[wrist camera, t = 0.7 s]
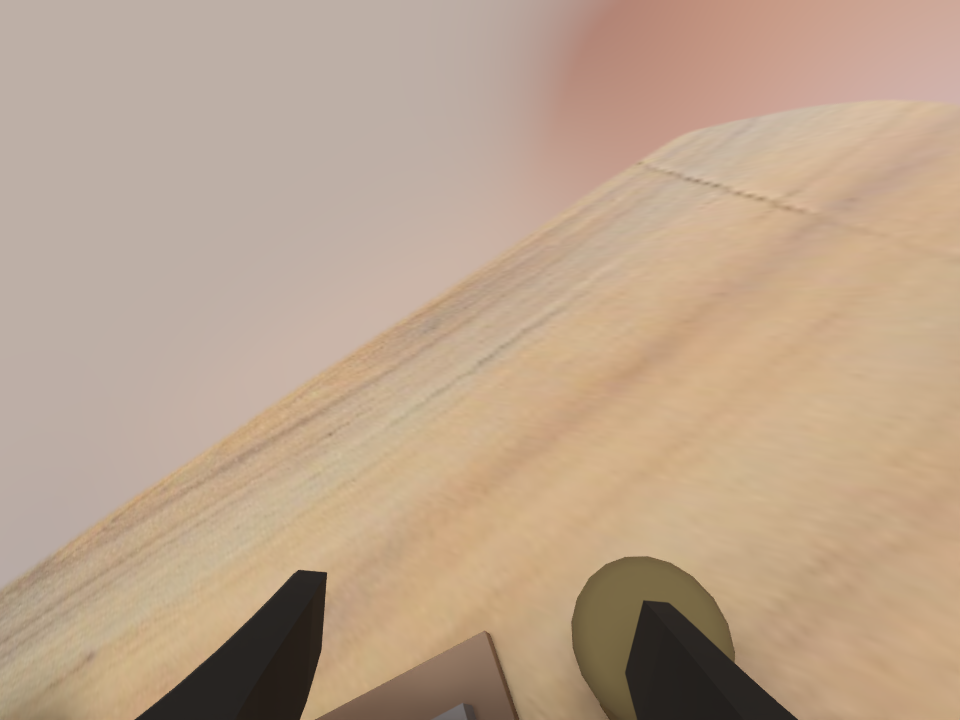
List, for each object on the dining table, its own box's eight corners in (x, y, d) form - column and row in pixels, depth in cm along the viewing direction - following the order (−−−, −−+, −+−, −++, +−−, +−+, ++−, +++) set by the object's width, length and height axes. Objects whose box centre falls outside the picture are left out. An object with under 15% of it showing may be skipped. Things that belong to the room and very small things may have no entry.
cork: (586, 734, 22) (540, 720, 14) (595, 596, 25) (562, 522, 17) (730, 774, 20) (772, 783, 12) (717, 617, 23) (744, 543, 15)
